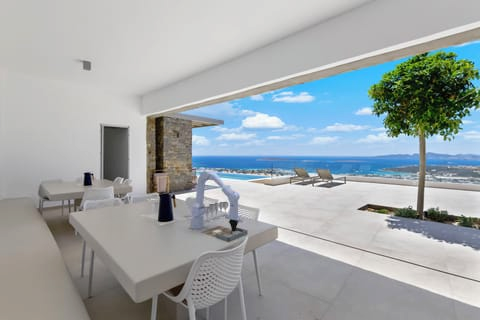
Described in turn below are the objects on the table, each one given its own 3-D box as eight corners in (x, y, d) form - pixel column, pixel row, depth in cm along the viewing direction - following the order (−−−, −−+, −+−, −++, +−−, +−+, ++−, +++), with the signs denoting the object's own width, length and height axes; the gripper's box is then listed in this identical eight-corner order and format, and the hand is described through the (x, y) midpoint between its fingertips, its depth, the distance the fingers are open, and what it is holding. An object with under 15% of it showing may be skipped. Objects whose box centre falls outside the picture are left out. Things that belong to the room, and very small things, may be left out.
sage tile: (232, 234, 152) (232, 231, 152) (237, 233, 155) (237, 230, 155) (236, 236, 149) (236, 233, 149) (241, 235, 152) (241, 232, 151)
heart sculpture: (203, 219, 190) (203, 197, 189) (199, 220, 186) (199, 198, 185) (189, 216, 198) (189, 195, 197) (185, 217, 193) (185, 196, 193)
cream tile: (212, 234, 151) (212, 231, 151) (217, 232, 155) (217, 229, 155) (217, 235, 148) (217, 232, 148) (222, 233, 152) (222, 230, 152)
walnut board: (200, 233, 155) (200, 232, 155) (219, 227, 169) (219, 225, 169) (216, 239, 145) (216, 237, 145) (235, 231, 159) (235, 230, 159)
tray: (216, 239, 145) (216, 233, 145) (235, 231, 159) (235, 226, 159) (228, 243, 138) (228, 237, 138) (247, 235, 152) (247, 230, 152)
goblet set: (207, 223, 178) (207, 206, 178) (202, 222, 181) (202, 205, 181) (229, 215, 200) (229, 200, 200) (224, 214, 204) (224, 200, 204)
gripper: (245, 211, 152) (245, 231, 153) (230, 208, 162) (229, 227, 162) (239, 213, 147) (238, 234, 147) (223, 209, 156) (222, 229, 157)
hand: (233, 230), depth 154 cm, fingers closed
